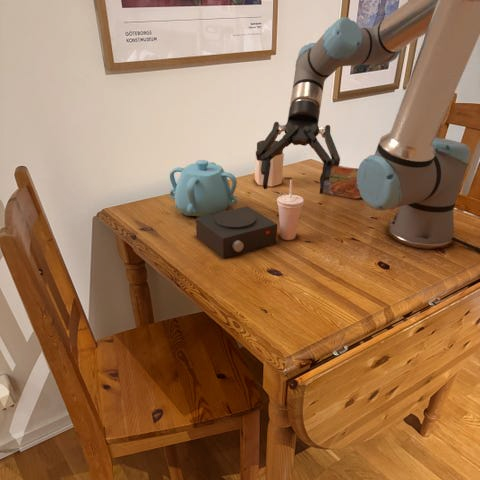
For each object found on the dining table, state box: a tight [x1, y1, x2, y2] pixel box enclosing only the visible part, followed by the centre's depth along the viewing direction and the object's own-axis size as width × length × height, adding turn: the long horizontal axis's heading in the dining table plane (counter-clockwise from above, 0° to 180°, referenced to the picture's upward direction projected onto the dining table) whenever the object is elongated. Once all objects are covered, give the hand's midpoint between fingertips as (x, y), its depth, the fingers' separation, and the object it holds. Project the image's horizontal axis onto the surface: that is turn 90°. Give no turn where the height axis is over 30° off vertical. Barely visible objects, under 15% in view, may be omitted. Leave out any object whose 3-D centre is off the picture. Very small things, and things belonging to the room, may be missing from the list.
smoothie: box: [276, 179, 305, 241], centre depth 107 cm, size 6×6×14 cm
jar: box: [254, 139, 285, 187], centre depth 139 cm, size 9×8×12 cm
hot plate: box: [195, 205, 279, 259], centre depth 107 cm, size 14×15×6 cm
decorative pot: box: [169, 159, 239, 218], centre depth 119 cm, size 16×16×14 cm
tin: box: [319, 165, 362, 200], centre depth 132 cm, size 15×3×8 cm, turn 63°
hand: (292, 189), depth 106 cm, fingers open, 13 cm apart
